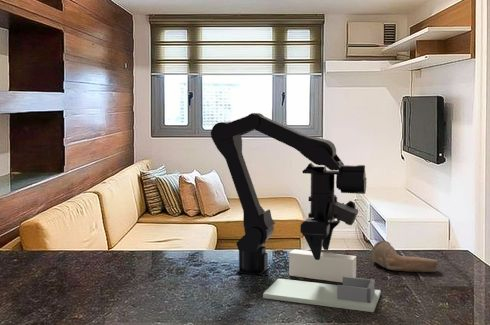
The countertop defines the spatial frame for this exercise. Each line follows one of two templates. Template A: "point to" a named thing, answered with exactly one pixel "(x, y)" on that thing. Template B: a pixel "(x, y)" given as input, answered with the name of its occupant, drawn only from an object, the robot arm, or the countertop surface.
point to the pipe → (400, 260)
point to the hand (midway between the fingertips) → (321, 254)
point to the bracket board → (327, 293)
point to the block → (321, 265)
